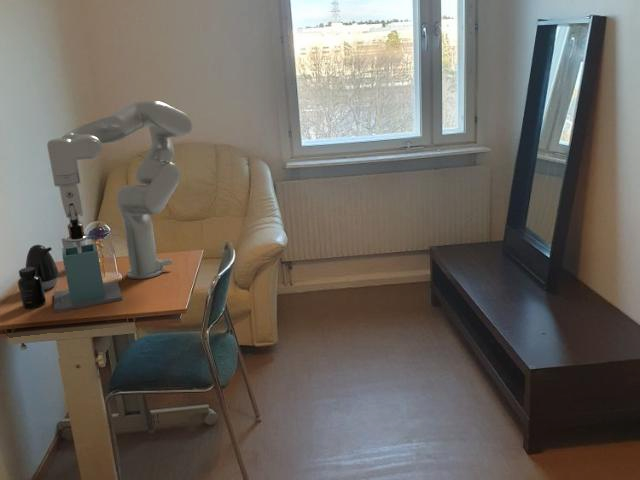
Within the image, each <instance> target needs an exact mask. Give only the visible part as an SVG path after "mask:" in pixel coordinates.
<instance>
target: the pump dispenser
mask: <svg viewBox="0 0 640 480" xmlns="http://www.w3.org/2000/svg"><path fill="white" fill-rule="evenodd" d="M52 249H53V248H52V247H50V246H49V247H47V248H46V246H44V245H42V244H34V245H32V246H31V247H30V248H29V250H28V252H27V255H26V259H25V268H28V267H34V268H35V269H36V273H37V274H36V275H38V276H40V277H41V280H42V285H43V290H44V291H46V290H50V289H51V288H53V287H55V286H56V285H57V283H58V279H59V276H60V274H59V270H58V267H57V265H56V262H55V260H54V258H53V256H52V254H51V253H50V251H52Z"/></svg>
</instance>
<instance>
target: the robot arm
mask: <svg viewBox="0 0 640 480" xmlns="http://www.w3.org/2000/svg"><path fill="white" fill-rule="evenodd" d="M145 127H146V128H147V127H148V129H149V133H150V138H151V146H150V148H149V150H148V152H147V154H146V155H145V156H144V158H143V160H142V161H141V162H140V165H139V166H138V167H137V170H136V172H135V180H136V182H137V183H138V184H126V185H124V186H122V187H121V188H120V189H119V190H118V191H117V195H116V204H117V208H118V210H119V212H120V215H121V219H122V222H123V223H122V224H123V229H124V235H125V242H126V247H127V254H128V255H127V257H128V262H129V268H130V269H128V270H127V271H126V276H127V278H129V279H133V280H141V279H149V278H153V277H156V276H158V275H161V274H162V273H164V271H165V270H164V266H170V265H173V262H172V259H171V258H170V259H167V258H163V259H159V257H158V254H157V245H156V240H155V233H154V226H153V221H152V218H151V216H153V215H157V214H159V213H161V212H162V211H163V210H164V208H165V207H166V205H167V204H168V202H169V200H170V199H171V197H172V195H173V194H174V192H175V191H176V188H177V187H178V185H179V183H180V178H181V176H180V175H181V174H180V169H179V167H178V166H177V164H176V163H174V162H172V161H173V159H174V157H175V147H174V144H173V140H172V138H177V139H179V138H186V137H187V136H188V135H190V134H191V132H192V129H193V123H192V120H191V118H190V116H189V115H187V114H186V113H185V112H184V111H181V110H180V109H176V107H173V106H170V105H169V104H167V103H165V102H162V101H159V100H138V101H134V102H132V103H130V104H128V105H126V106H124V107H123V108H121V109H119V110H117V111H116V112H114V113H112V114H110V115H107V116H105V117H102V118H99V119H96V120H94V121H91V122H88V123H84V124H83V125H81V126H78V127H76V128H74V129H72V130H70V131H68V132H67V133H65V134H64V135H63V136H61V138H60V137H58V138H54V139H50V140H48V142H47V150H48V157H49V162H50V167H51V173H52V178H53V183H54V185H53V186H55V187H58V188H59V193H60V197H61V202H62V203H61V204H62V207H63V210H64V213H65V217H66V218H67V219H68V220H69V224H70V231H71V237H72V239H73V240H74V239H81V238H83V235H82V230H81V225H80V223H81V221H80V219H79V216H80V217H83V215H84V212H83V208H82V206H83V205H82V200H81V195H80V190H79V186H78V185H79V184H81V177H80V171H79V170H80V169H79V165H78V160H91V159H94V158H98V156H99V155H100V154H101V152H102V149H103V145H102V144H106V143H113V142H117V141H121V140H122V141H123V140H124V139H126V138H127V137H129V136H131V135H133V134H134V133H136V132H138V131H139V130H141V129H143V128H145ZM150 215H151V216H150ZM69 224H68V225H69Z"/></svg>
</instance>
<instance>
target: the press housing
mask: <svg viewBox="0 0 640 480" xmlns="http://www.w3.org/2000/svg"><path fill="white" fill-rule="evenodd" d="M81 249H82V253H79V254H78V250H77V246H75V247H69V248H61V253H62V260H63V265H64V270H65V271H64V272H65V277H66V283H67V287H68V289H64V290H58V291H54V292H53V293H54V295H53V296H54V297H53V298H54V300H53V301H54V303H53V304H54V313H55V314H56V313H60V312H65V311H70V310H71V311H72V310H76V309H81V308H88V307H91V306H97V305H102V304H107V303H112V302H118V301H123V295H122V291H121V288H120V285H119V282H118V280H113V281H107V282H108V283H107V282H104V281H103V276H102V270H101V264H100V257H99V251H98V248H97V244H96V243H95V242H94V243H88V244H83V245H81Z"/></svg>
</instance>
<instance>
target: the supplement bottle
mask: <svg viewBox="0 0 640 480" xmlns="http://www.w3.org/2000/svg"><path fill="white" fill-rule="evenodd" d="M18 274H19V279H18V281H17V286H18V290H19V295H20V298H21V302H22V303H21V304H22V307H23V308H24V309H28V310H30V309H31V310H32V309H37V308H40V307H42V306H44V305H46V302H47V299H46V296H45V290H43V285H42V280H41V277H40V276H38V275H36V274H37V273H36V269H35V268H34V267H28V268H26V267H23V268H21V269H20V270H18Z"/></svg>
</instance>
